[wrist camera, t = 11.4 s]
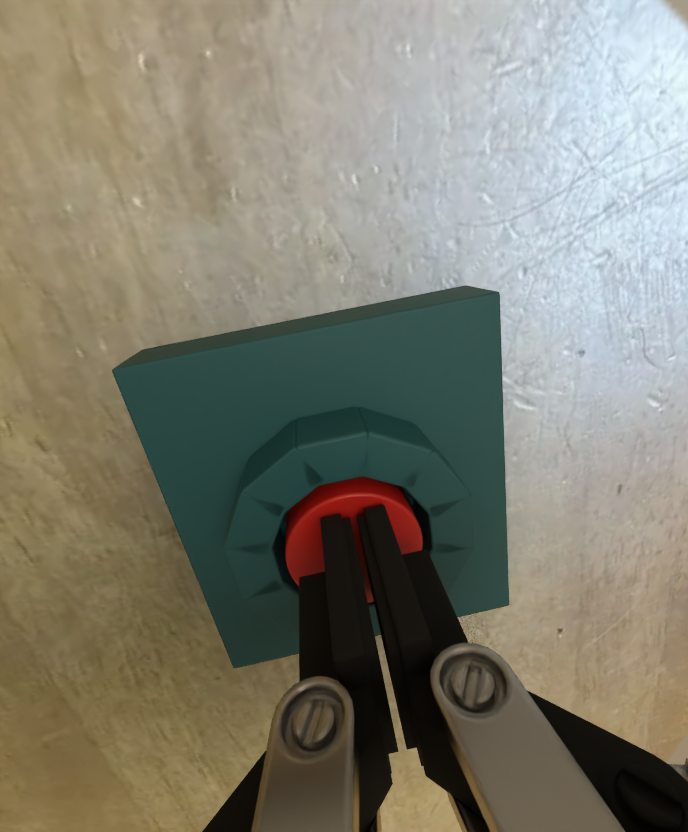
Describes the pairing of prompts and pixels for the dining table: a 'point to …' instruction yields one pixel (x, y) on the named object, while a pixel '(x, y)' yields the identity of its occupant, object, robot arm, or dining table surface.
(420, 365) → the button block
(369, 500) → the button
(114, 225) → the dining table surface
